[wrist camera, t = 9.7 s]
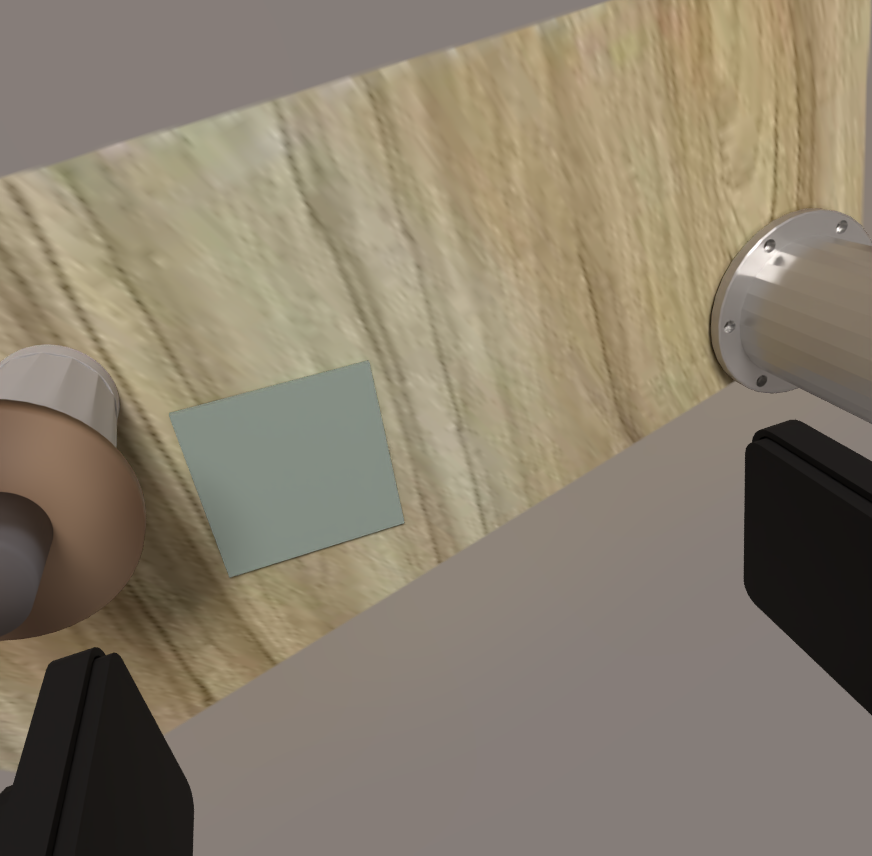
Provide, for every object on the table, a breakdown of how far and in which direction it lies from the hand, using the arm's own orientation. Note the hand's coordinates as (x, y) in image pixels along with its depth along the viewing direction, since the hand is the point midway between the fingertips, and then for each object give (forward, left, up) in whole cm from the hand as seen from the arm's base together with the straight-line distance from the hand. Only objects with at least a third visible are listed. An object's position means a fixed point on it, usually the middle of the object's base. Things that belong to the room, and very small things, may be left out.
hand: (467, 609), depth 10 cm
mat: (+2, +14, -32) cm, 35 cm away
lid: (+13, +6, -20) cm, 24 cm away
